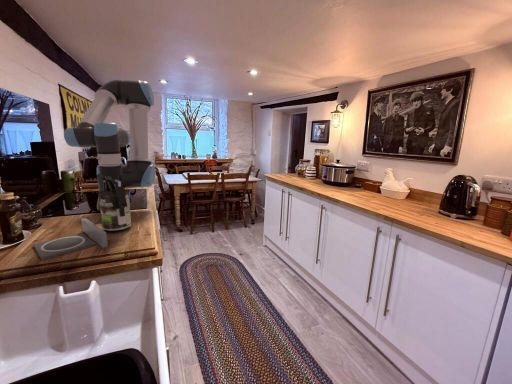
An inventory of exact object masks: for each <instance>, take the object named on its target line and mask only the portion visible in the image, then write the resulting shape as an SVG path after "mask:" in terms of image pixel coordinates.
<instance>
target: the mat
mask: <svg viewBox="0 0 512 384" xmlns="http://www.w3.org/2000/svg"><path fill="white" fill-rule="evenodd" d="M95 245H96V244H95V241H92V240H91V238H90V237H89V236H88V235H85V234H84V232H78V233H74V234H70V235H67V236H66V235H65V236H62V237H58V238H53V239H49V240H45V241H40V242H36V243H33V244H32V246H33V248H34V249H35V251H36V252H37V254H38V256H39V258H40V259H41V260H42V261H43V260H47V259H50V258H54V257H58V256H61V255H65V254H68V253H72V252H76V251H80V250H83V249H86V248H91V247H93V246H94V247H95Z"/></svg>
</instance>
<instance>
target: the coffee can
mask: <svg viewBox="0 0 512 384" xmlns="http://www.w3.org/2000/svg"><path fill="white" fill-rule="evenodd" d="M124 193H125V197H126V202H127V207H125V214H126V224H122V225H118V217H117V209H116V207H117V204H116V197H117V194H115V195H114V194H113V192H111V191H106V190H105V191H101V192H99V191H98V193H97V195H98V198H99V202H100V210H101V211H100V216H101V225H102V227H101V229H102V230H103V231H110V232H111V231H112V232H113V231H119V230H120V231H121V230H124V229H127V228H129V227H131V226H132V220H131V219H132V217H131V209H130V207H131V205H130V206H129V201H130V198H129V190H128V189H126V188H125V189H124Z"/></svg>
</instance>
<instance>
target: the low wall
mask: <svg viewBox="0 0 512 384" xmlns="http://www.w3.org/2000/svg"><path fill="white" fill-rule="evenodd" d="M80 221H81V226H82V231H83V233H85V234H86V236H87V237H88V238H90V239H92V240H93V242H94V243H96V244H98V245H99V246H100V247H101V248H103V249H104V248H107V247H109V245H108V244H109V243H108V236H107V232H106V230H104V229H103V228H101V227H99V226H97V225H96V224H95V223H93V222H92V221H91V220H89V219H88V218H86V217H84V218H81V219H80Z"/></svg>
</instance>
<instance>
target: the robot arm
mask: <svg viewBox="0 0 512 384" xmlns="http://www.w3.org/2000/svg"><path fill="white" fill-rule="evenodd" d="M117 105H118V106H119V105H124V106H125V108H126V109H127V110H128V119H129V120H128V121H129V122H128V125H129V126H128V129H129V130H125V129H124V128H118V124H117V123H115V122H106V120H107V119H108V116H109V114H110V112H111V111H112V109H114V108H115V107H117ZM154 105H155V98H154V93H153V90H152V86H151V85H150V83H149V82H147V81H143V80H129V79H128V80H126V79H113V80H110V81H108V82H106V83H104V84H102V85H101V86H100V87H98V89H97V90H96V91H95V93H94V99H93V101H92V102H91V104H90V106H89V107H88V109H87V110H86V112H85V113H84V115H83V116H82V118H81V120H80V121H79V122H78V124H77V125H76V127H73V126H72V127H67V128H66V129H64V131H63V139H64V141H65V143H66V144H67V145H68V146H70V147H72V148H73V147H75V148H96V153H97V156H96V157H95V158H96V160H98V161H97V162H98V165H97V166H96V178H97V186H98V193H99V192H101V191H105V190H106V191H111V192H113V194H114V195H115V194H117V197H116V204H117V207H116V209H117V217H118V225H122V224H126V214H125V207H127V202H126V197H125V193H124V189H125V190H126V189H127V188H149V187H152V186H153V184H154V183H155V179H156V172H157V171H156V166H155V164H153V163H152V160H151V159H150V158H149V135H148V134H149V127H148V126H149V124H148V118H149V117H148V112H150V111H151V107H152V106H154ZM128 131H129V132H128ZM128 145H129V158H128V159H127V160H126V164H124V163H123V162H122V154H121V148H124V147H126V146H128ZM129 206H130V207H131V200H129ZM96 210H97V211H100V212H101V210H100V202H99V197H97V201H96Z"/></svg>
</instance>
